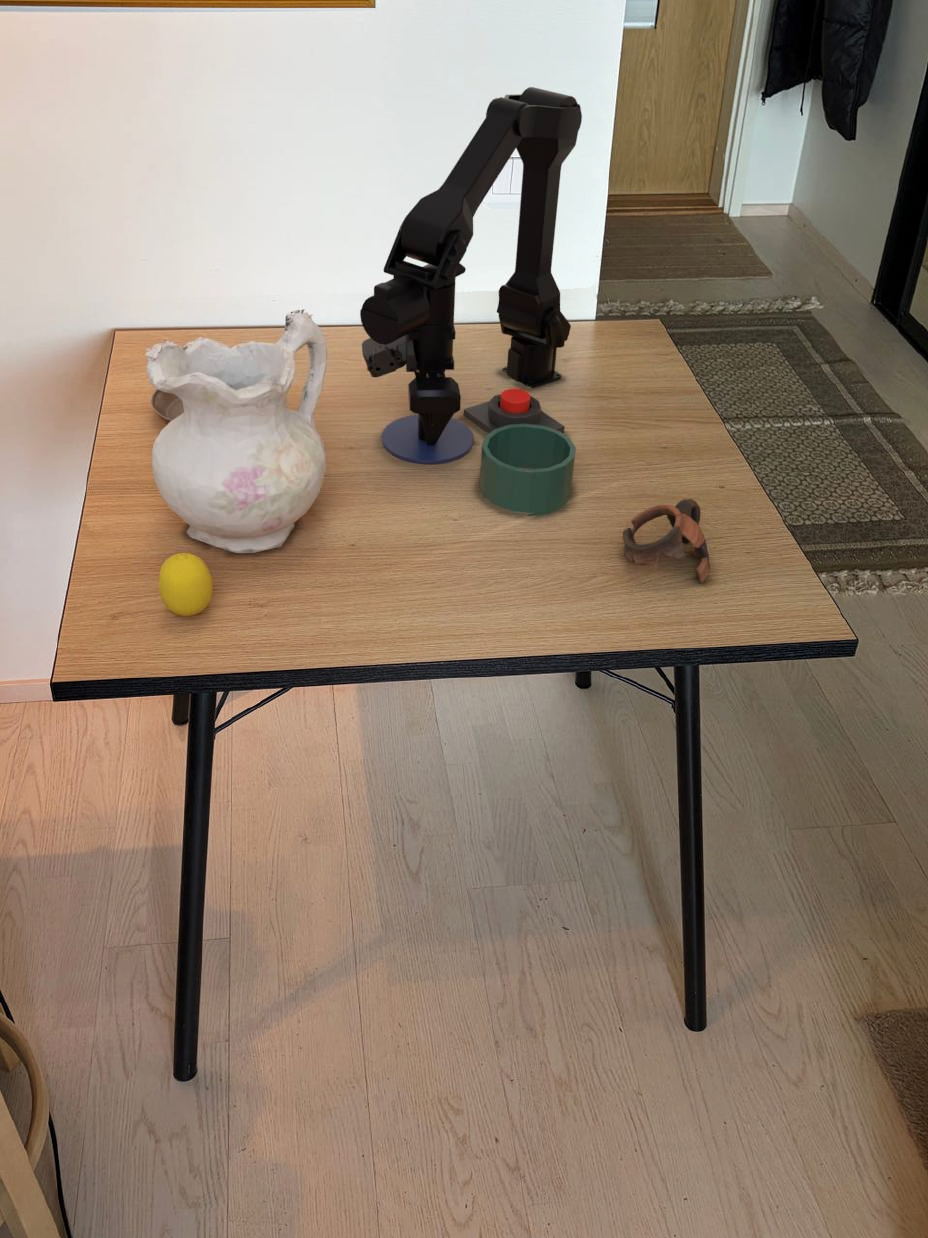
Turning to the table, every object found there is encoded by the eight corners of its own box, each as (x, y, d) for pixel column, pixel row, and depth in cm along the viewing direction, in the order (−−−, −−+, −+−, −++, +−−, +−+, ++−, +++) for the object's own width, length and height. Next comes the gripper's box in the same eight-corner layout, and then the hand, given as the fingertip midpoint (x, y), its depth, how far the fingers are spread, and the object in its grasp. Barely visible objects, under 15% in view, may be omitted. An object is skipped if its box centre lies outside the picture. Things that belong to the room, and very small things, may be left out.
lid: (438, 412, 162) (439, 379, 159) (491, 451, 155) (493, 417, 151) (364, 436, 156) (363, 402, 153) (415, 477, 149) (415, 443, 146)
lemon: (171, 636, 123) (162, 575, 118) (157, 606, 126) (147, 546, 121) (222, 622, 125) (215, 562, 120) (206, 593, 128) (199, 534, 123)
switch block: (514, 402, 165) (516, 379, 163) (563, 435, 159) (566, 413, 156) (462, 418, 161) (464, 396, 159) (511, 454, 154) (513, 430, 152)
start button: (517, 397, 160) (518, 385, 159) (535, 409, 158) (536, 397, 156) (494, 404, 158) (494, 393, 157) (511, 417, 156) (512, 405, 155)
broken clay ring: (703, 602, 132) (676, 550, 127) (630, 604, 138) (602, 555, 133) (734, 528, 138) (709, 476, 134) (663, 533, 144) (637, 483, 139)
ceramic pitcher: (261, 467, 151) (234, 279, 136) (378, 510, 142) (362, 313, 127) (134, 543, 137) (88, 343, 122) (255, 596, 128) (221, 387, 113)
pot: (532, 458, 154) (536, 415, 150) (588, 498, 147) (594, 454, 143) (462, 483, 148) (464, 439, 144) (517, 526, 141) (521, 481, 137)
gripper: (362, 284, 150) (364, 393, 160) (368, 350, 136) (369, 465, 146) (448, 284, 151) (445, 392, 161) (463, 349, 137) (458, 463, 147)
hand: (428, 426), depth 154 cm, fingers open, 9 cm apart
